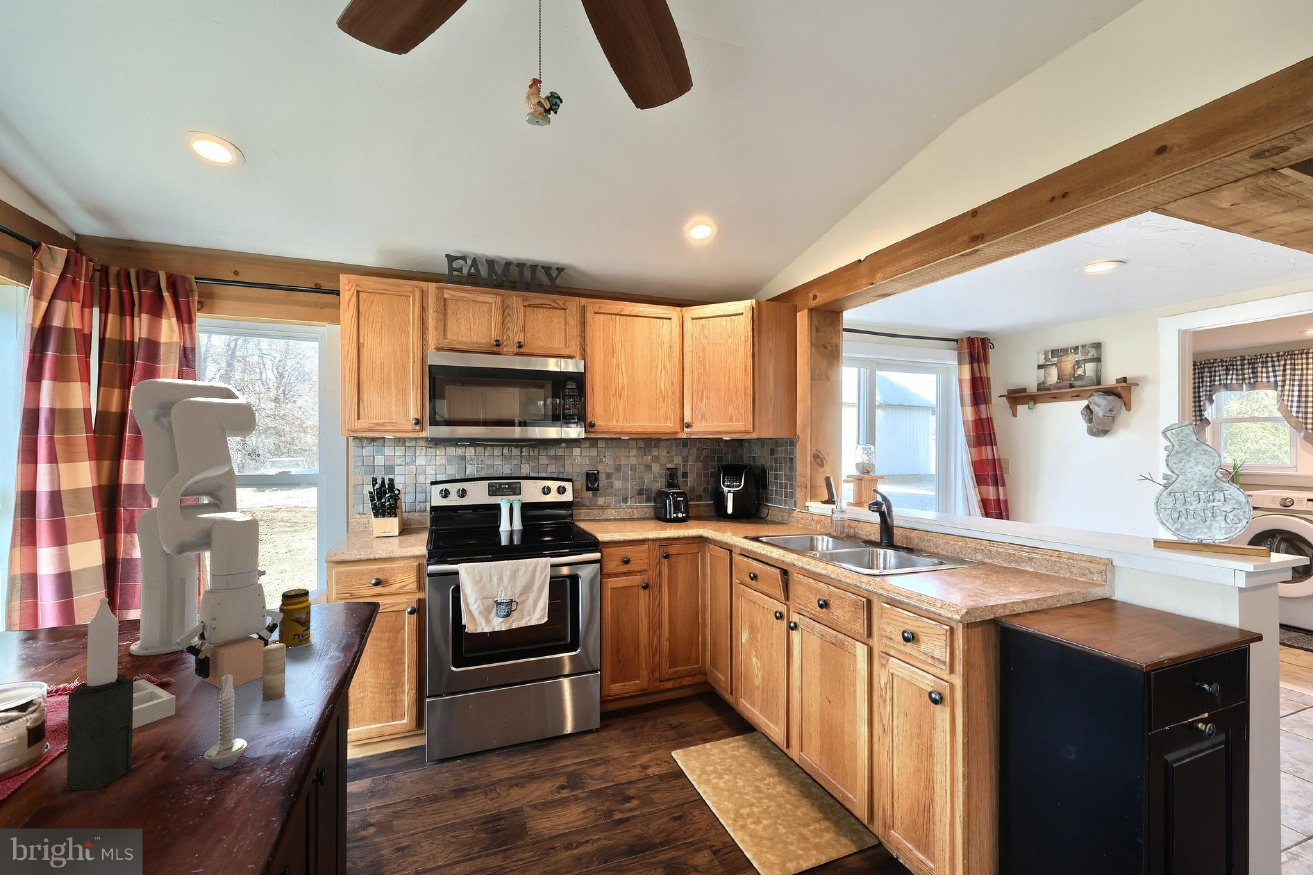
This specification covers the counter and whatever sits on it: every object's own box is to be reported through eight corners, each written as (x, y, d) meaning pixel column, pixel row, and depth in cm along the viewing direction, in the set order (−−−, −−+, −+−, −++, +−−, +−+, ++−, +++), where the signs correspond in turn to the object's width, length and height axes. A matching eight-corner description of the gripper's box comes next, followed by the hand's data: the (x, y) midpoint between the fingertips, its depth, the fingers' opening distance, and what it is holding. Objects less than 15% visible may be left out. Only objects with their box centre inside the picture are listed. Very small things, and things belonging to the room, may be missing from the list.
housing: (201, 679, 103) (202, 643, 103) (240, 666, 108) (240, 632, 108) (224, 689, 98) (224, 652, 99) (263, 676, 104) (263, 641, 104)
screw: (253, 752, 79) (233, 772, 74) (218, 754, 79) (195, 775, 74) (255, 666, 79) (234, 680, 75) (219, 667, 79) (196, 682, 74)
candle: (98, 767, 75) (101, 592, 75) (136, 765, 76) (140, 592, 76) (60, 790, 70) (64, 603, 70) (102, 789, 71) (106, 603, 71)
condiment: (311, 645, 120) (313, 592, 120) (265, 653, 116) (267, 598, 116) (311, 635, 126) (312, 585, 126) (268, 642, 122) (269, 590, 122)
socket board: (88, 712, 90) (88, 695, 90) (142, 695, 96) (143, 679, 96) (118, 733, 84) (119, 714, 84) (174, 713, 90) (175, 696, 90)
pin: (258, 697, 96) (259, 648, 96) (278, 690, 99) (279, 642, 99) (268, 702, 94) (269, 652, 94) (288, 694, 97) (289, 645, 97)
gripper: (273, 568, 113) (272, 648, 113) (169, 588, 98) (167, 680, 97) (292, 573, 109) (291, 655, 109) (188, 593, 94) (186, 690, 94)
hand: (233, 667), depth 103 cm, fingers open, 9 cm apart
